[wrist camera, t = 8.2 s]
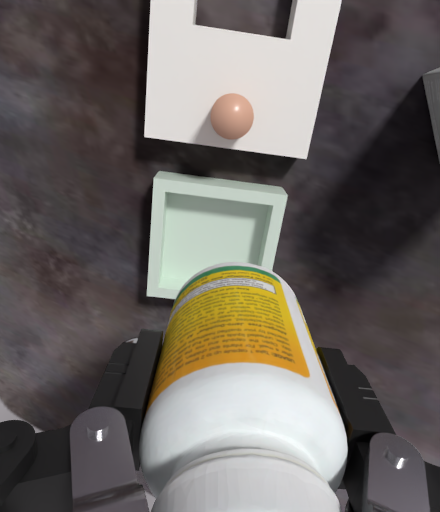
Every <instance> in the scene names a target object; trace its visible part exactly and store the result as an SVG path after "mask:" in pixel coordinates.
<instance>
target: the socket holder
mask: <svg viewBox="0 0 440 512" xmlns="http://www.w3.org/2000/svg"><path fill="white" fill-rule="evenodd" d="M341 1H342V0H292V6H291V11H290V17H289V23H288V28H287V34H286V39H282V38H276V37H269V36H263V35H256V34H250V33H244V32H237V31H231V30H224V29H218V28H211V27H205V26H198V25H195V22H196V11H197V0H151V2H150V23H149V45H148V66H147V87H146V109H145V130H144V137H148V138H155V139H162V140H170V141H177V142H184V143H192V144H199V145H206V146H214V147H221V148H228V149H236V150H243V151H250V152H258V153H265V154H273V155H280V156H287V157H295V158H302V159H307V154H308V150H309V145H310V141H311V136H312V132H313V127H314V123H315V118H316V114H317V109H318V105H319V100H320V96H321V91H322V87H323V82H324V78H325V73H326V69H327V64H328V60H329V55H330V51H331V46H332V42H333V37H334V33H335V28H336V24H337V19H338V15H339V10H340V6H341Z"/></svg>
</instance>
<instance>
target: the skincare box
mask: <svg viewBox="0 0 440 512" xmlns="http://www.w3.org/2000/svg"><path fill="white" fill-rule="evenodd" d="M423 82H424V87H425V92H426V97H427V102H428V107H429V112H430V117H431V122H432V128H433V133H434V138H435V143H436V148H437V153H438V158H439V162H440V68H437V69H435V70H433V71H430V72H428V73H425V74H423Z"/></svg>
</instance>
